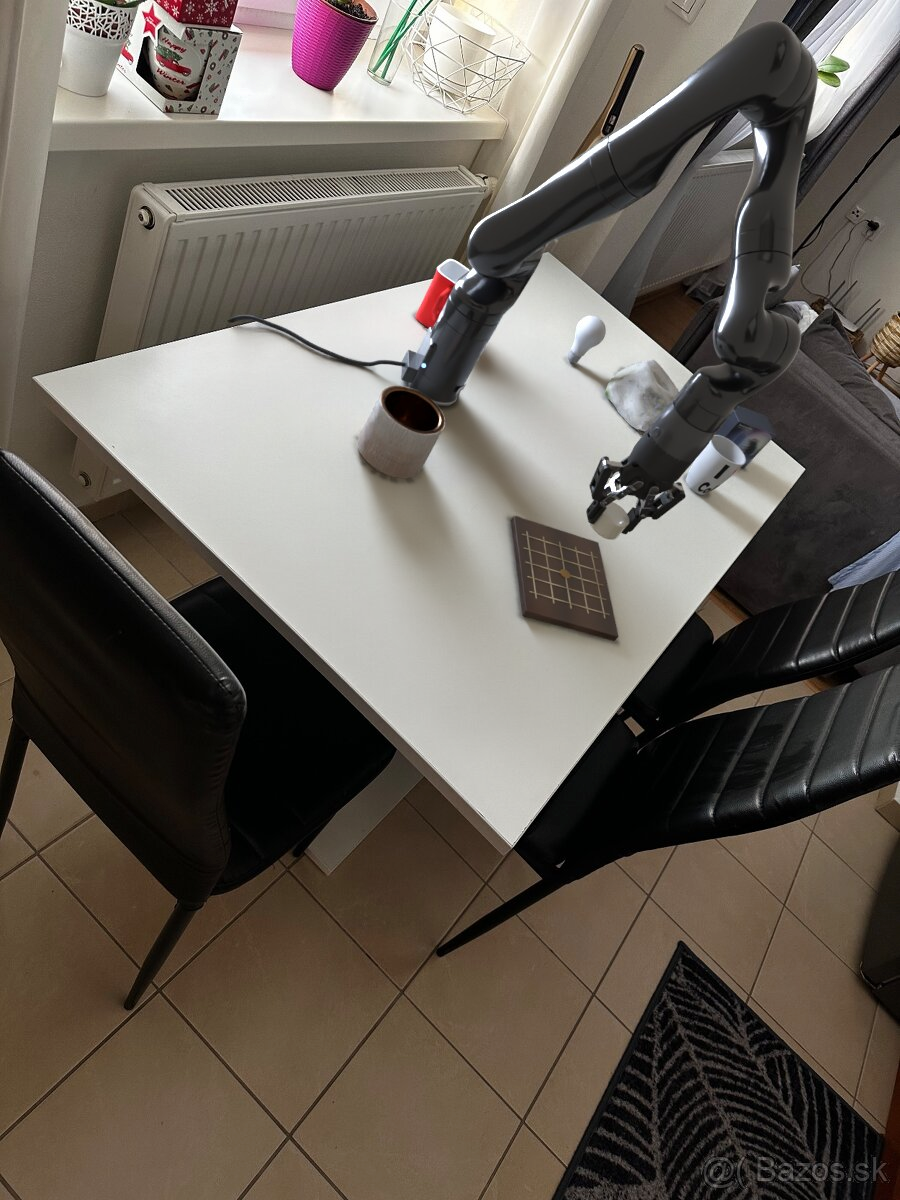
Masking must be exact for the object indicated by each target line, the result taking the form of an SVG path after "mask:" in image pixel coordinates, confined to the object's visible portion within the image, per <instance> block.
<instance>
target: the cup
mask: <svg viewBox="0 0 900 1200" xmlns="http://www.w3.org/2000/svg"><path fill="white" fill-rule="evenodd" d="M745 462H746V458H745V455H744V454H743V452H742V451H741V449H740V448H739V447H738V446H737V445H736V444H735V443H733V442H732V441H731V440H729V439H727V438H725V437H723V436H720V435H714V436H713V438H712V439H711V441H710V442H709V444H708V445H707V446H706V448H705V449H704V450H703V451H702V452H701V454H700V455H699V456H698V457H697V458H696V459H695V461H694V462H693V463H692V464H691V465H690V467H689V469H688V470H689V471H688V473H687V476H686V478H685V483H686V485H687V486H688V488H689V489H690V490H691V491H692V492H693V493H695V494H698V495H701V496H706V495H707V494H709V493H711V492H713V491H714V490H716V489H717V488H719V487H720V486H721V485H722V484H724V483H725V482H727V481H728V480H729V479H730V478H732V476H734V475H735V473H737V471H738V470H739V469H741V468H740V467H741V466H742V465H743V464H744V463H745Z"/></svg>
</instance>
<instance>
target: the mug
mask: <svg viewBox="0 0 900 1200" xmlns="http://www.w3.org/2000/svg"><path fill="white" fill-rule="evenodd" d="M469 270H470V269H469V268H468V267H466V266H465V265H463V264H462V263H461V262H459V261H457V260H455V259H452V258H448V259H446V260H445V261H443V262H442V263H440V264H439V265H438V266H437V267H436V271H435V274H434V276H433V278H432V280H431V282H430V284H429V286H428V288H427V290H426V292H425V295H424V297H423V298H422V300H421V303H420V305H419V307H418V309H417V311H416V314H415V319H416V320H417V321H418V322H419V323H421V325H424V326H425V327H426V328H427V329H429V327H434V325H435V323H436V321H437V319H438V317H439V315H440V313H441V311H442V309H443V307H444V305H445V303H446V301H447V299H448V297H449V295H450V293H451V291H452V289H453V287H454V285H455V283H456V282H457V280H458V279H459V278H460V277H461V276H463V275H464V274H465V273H467V272H468V271H469Z"/></svg>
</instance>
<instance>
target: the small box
mask: <svg viewBox="0 0 900 1200" xmlns="http://www.w3.org/2000/svg"><path fill="white" fill-rule="evenodd" d="M715 435H720V436H723V437H725V438H727V439H729V440H731V441H732V442H733V443H735V444H736V445H737V446H738V447H739V448H740V449H741V451H742V452H743V454H744V455H745V458H746V462H745V463H744V464H743V465H742V466H741V467H740V468H739V469H743V470H744V469H745V468H746V467H747V466H748V465H749V464H750V463H751V461H753V460H754V458H756V456H757V455H758V454H759V453H760V452H761V451H762V450H763V449H764V448H765V447H766V446H767V445H768V444H769V443H770V442H771V441H772V440H773V438H775V437H776V436H777V434H776V431H775V429H774V427H773V426H772V423H771V422H770V419H769V417H768V416H767V415H765V414H762V413H760V412H758V411H754V410H751V409H749V408H746V407H744V406H741V405H739V406H738V407H737V408H736V409H735V410H734V412H733V413H732V414H731V415H730V417H729V418H728V419H727V420H726V421H725V423H724V424H723V425H722V426H721V427H720V428H719V430H718V431H717V432H716V433H715Z"/></svg>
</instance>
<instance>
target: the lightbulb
mask: <svg viewBox="0 0 900 1200" xmlns="http://www.w3.org/2000/svg"><path fill="white" fill-rule="evenodd" d="M606 331H607V329H606V325H605V322H604V321H603V320H602V319H601V318H600V317H599V316H596V315H587V316H584V317H583V318H581V319H580V320H579V322H578V323H577V325H576V327H575V333H574V335H575V336H574V340H573V344H572V345H571V348H570V350H569V353H568V354H567V355H566V356H567V360H568V362H569V363H570V364H578V362H579V361H580V360H581V359H582V357H584V356H585V355H586V353H587V352H588V351H590V350H591V349H592V348H594V347H596V346H598V345H600V344H601V343H602V342H603V341H604V339H605V337H606V334H607V333H606Z"/></svg>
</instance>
